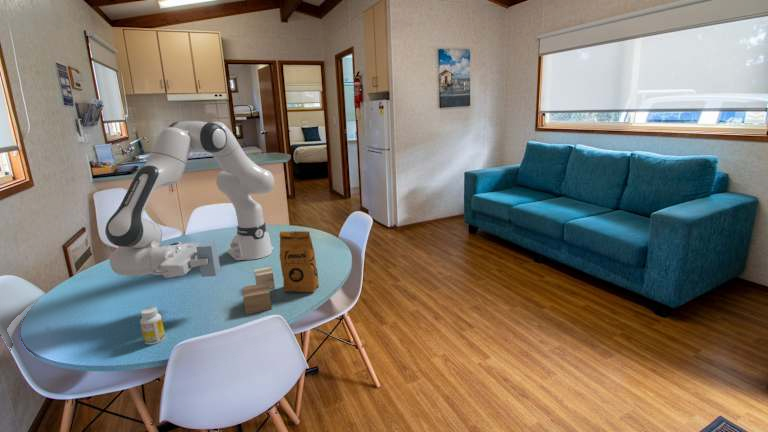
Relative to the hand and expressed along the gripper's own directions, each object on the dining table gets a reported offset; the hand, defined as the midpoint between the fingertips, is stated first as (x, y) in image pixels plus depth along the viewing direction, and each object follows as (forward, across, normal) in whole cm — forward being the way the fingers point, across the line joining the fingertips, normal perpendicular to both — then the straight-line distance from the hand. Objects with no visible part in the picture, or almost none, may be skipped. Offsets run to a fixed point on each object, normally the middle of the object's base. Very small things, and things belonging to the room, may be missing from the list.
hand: (211, 257), depth 127 cm
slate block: (-1, 0, +6) cm, 6 cm away
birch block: (+11, +16, +18) cm, 27 cm away
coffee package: (+25, +11, +19) cm, 33 cm away
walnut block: (+12, 0, +18) cm, 22 cm away
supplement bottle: (-13, -16, +19) cm, 28 cm away
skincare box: (-30, +33, +19) cm, 48 cm away
